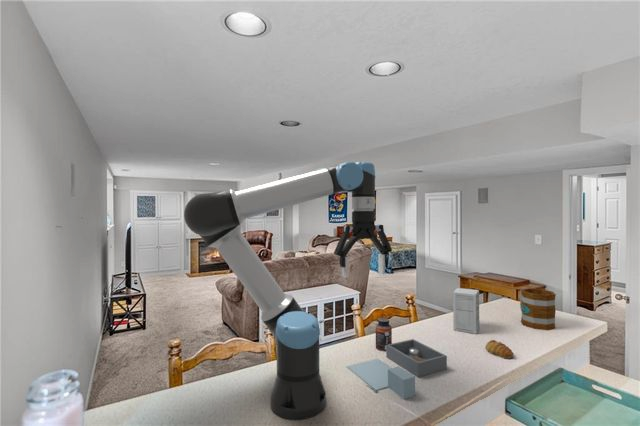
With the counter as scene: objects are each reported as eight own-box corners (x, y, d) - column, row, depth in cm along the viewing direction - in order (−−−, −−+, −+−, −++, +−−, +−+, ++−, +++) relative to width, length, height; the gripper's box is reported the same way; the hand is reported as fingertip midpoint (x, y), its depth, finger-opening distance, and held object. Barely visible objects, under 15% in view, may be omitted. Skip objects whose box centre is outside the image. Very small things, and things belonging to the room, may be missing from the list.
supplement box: (480, 328, 150) (480, 289, 150) (476, 334, 143) (477, 294, 142) (457, 324, 156) (457, 287, 155) (452, 330, 148) (452, 291, 147)
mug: (563, 330, 147) (563, 295, 147) (531, 330, 147) (531, 295, 147) (535, 315, 167) (535, 285, 166) (507, 315, 167) (507, 285, 167)
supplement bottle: (391, 353, 125) (391, 322, 125) (375, 352, 126) (375, 321, 126) (391, 347, 131) (391, 317, 131) (375, 345, 132) (375, 316, 132)
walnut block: (418, 373, 109) (418, 363, 109) (407, 368, 112) (407, 359, 112) (425, 369, 111) (425, 360, 111) (415, 365, 114) (415, 356, 114)
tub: (418, 379, 106) (418, 363, 106) (386, 359, 120) (386, 344, 120) (446, 371, 111) (446, 355, 111) (413, 352, 126) (413, 338, 126)
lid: (391, 405, 92) (390, 383, 92) (346, 369, 113) (346, 351, 113) (426, 394, 98) (426, 373, 98) (377, 361, 119) (377, 344, 119)
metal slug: (413, 360, 118) (413, 351, 118) (406, 356, 121) (406, 348, 121) (421, 358, 119) (421, 349, 119) (414, 354, 122) (414, 346, 122)
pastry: (518, 358, 121) (518, 347, 121) (504, 361, 119) (504, 350, 118) (497, 348, 130) (496, 338, 130) (483, 350, 127) (483, 340, 127)
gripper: (333, 210, 103) (334, 281, 103) (402, 209, 113) (402, 274, 113) (323, 210, 110) (324, 276, 110) (389, 209, 120) (389, 270, 120)
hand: (363, 275), depth 112 cm, fingers open, 13 cm apart
